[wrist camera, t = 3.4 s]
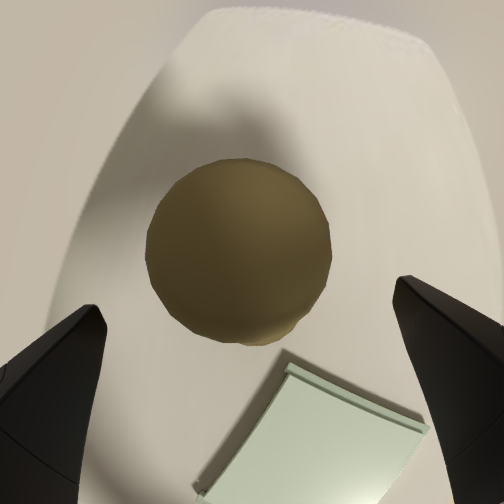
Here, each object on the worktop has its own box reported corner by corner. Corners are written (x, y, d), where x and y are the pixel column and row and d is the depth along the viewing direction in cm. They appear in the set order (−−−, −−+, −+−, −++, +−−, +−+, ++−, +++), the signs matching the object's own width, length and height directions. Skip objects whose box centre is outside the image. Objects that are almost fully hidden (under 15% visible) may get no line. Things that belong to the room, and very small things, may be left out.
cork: (187, 274, 18) (88, 192, 7) (274, 228, 18) (277, 97, 8) (233, 364, 16) (172, 408, 6) (324, 314, 17) (409, 276, 6)
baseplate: (425, 424, 14) (432, 427, 13) (332, 544, 12) (334, 551, 11) (289, 361, 16) (290, 363, 15) (197, 495, 14) (194, 502, 13)
